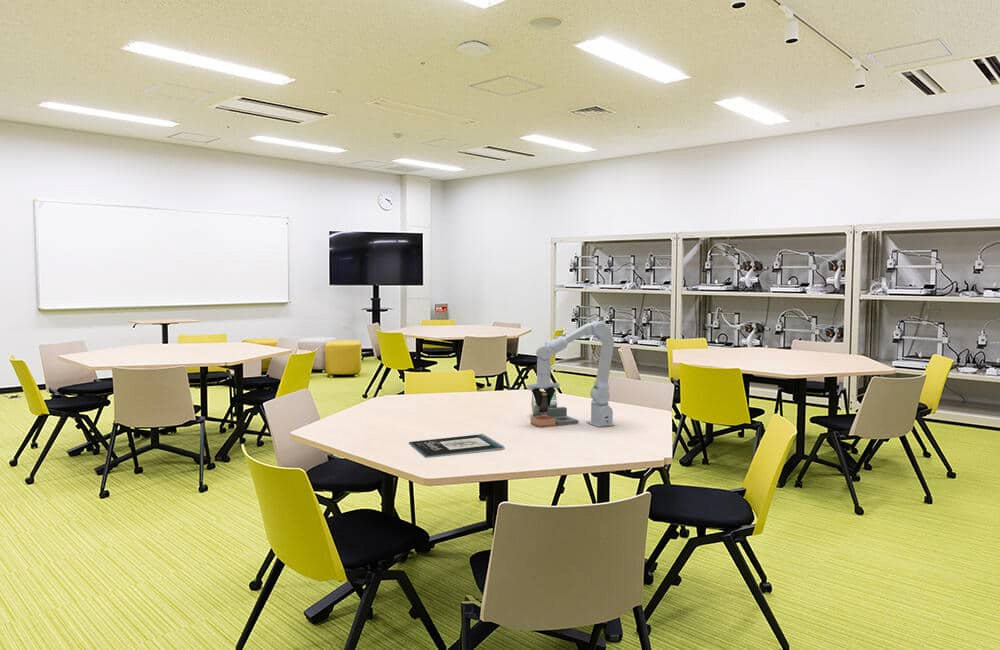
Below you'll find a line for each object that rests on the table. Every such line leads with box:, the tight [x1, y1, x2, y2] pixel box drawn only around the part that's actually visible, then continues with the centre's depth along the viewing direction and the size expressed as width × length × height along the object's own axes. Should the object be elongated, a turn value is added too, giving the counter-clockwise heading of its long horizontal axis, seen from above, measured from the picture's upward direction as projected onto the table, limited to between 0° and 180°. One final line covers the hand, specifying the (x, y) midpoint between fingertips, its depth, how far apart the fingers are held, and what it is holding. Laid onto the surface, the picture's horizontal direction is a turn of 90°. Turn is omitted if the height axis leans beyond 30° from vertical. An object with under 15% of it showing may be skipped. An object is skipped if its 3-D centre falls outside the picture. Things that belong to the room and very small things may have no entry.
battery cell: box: [538, 390, 548, 412], centre depth 285 cm, size 4×4×8 cm
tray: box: [530, 415, 556, 428], centre depth 286 cm, size 8×8×3 cm
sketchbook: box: [408, 433, 506, 459], centre depth 248 cm, size 22×30×2 cm
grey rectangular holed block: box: [542, 406, 579, 426], centre depth 292 cm, size 13×10×5 cm
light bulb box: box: [530, 391, 558, 417], centre depth 301 cm, size 11×7×11 cm
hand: (543, 405), depth 285 cm, fingers closed on battery cell, 4 cm apart
